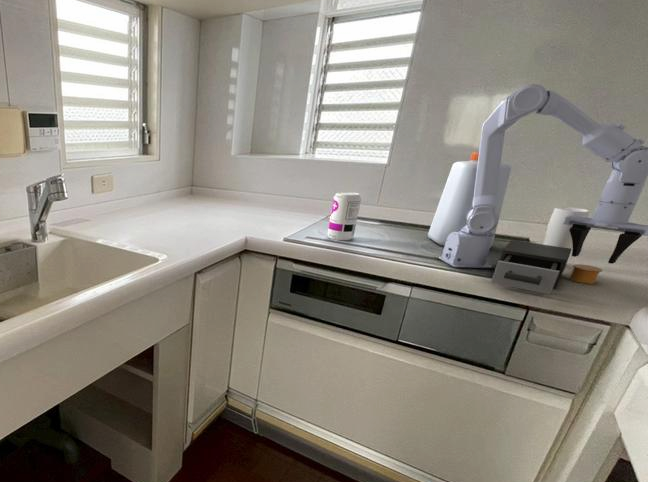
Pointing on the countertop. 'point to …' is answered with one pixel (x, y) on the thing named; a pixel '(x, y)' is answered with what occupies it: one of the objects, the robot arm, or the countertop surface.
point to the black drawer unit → (538, 254)
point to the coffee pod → (585, 273)
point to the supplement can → (344, 215)
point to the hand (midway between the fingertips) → (592, 259)
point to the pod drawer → (526, 273)
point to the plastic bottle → (462, 198)
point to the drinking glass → (562, 227)
